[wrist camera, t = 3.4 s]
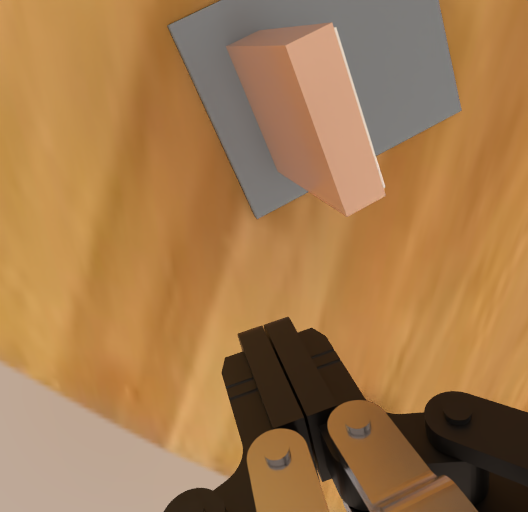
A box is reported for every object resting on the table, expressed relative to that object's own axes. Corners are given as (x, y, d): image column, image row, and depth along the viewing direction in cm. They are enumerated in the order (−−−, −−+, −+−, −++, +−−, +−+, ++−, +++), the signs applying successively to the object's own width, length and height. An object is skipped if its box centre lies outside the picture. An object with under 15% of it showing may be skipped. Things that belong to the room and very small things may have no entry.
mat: (254, 216, 37) (257, 219, 37) (167, 25, 31) (168, 25, 30) (456, 109, 39) (461, 110, 39) (413, -92, 33) (418, -94, 32)
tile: (277, 171, 36) (346, 216, 26) (225, 46, 32) (285, 45, 22) (309, 154, 36) (389, 193, 27) (262, 28, 32) (337, 20, 22)
